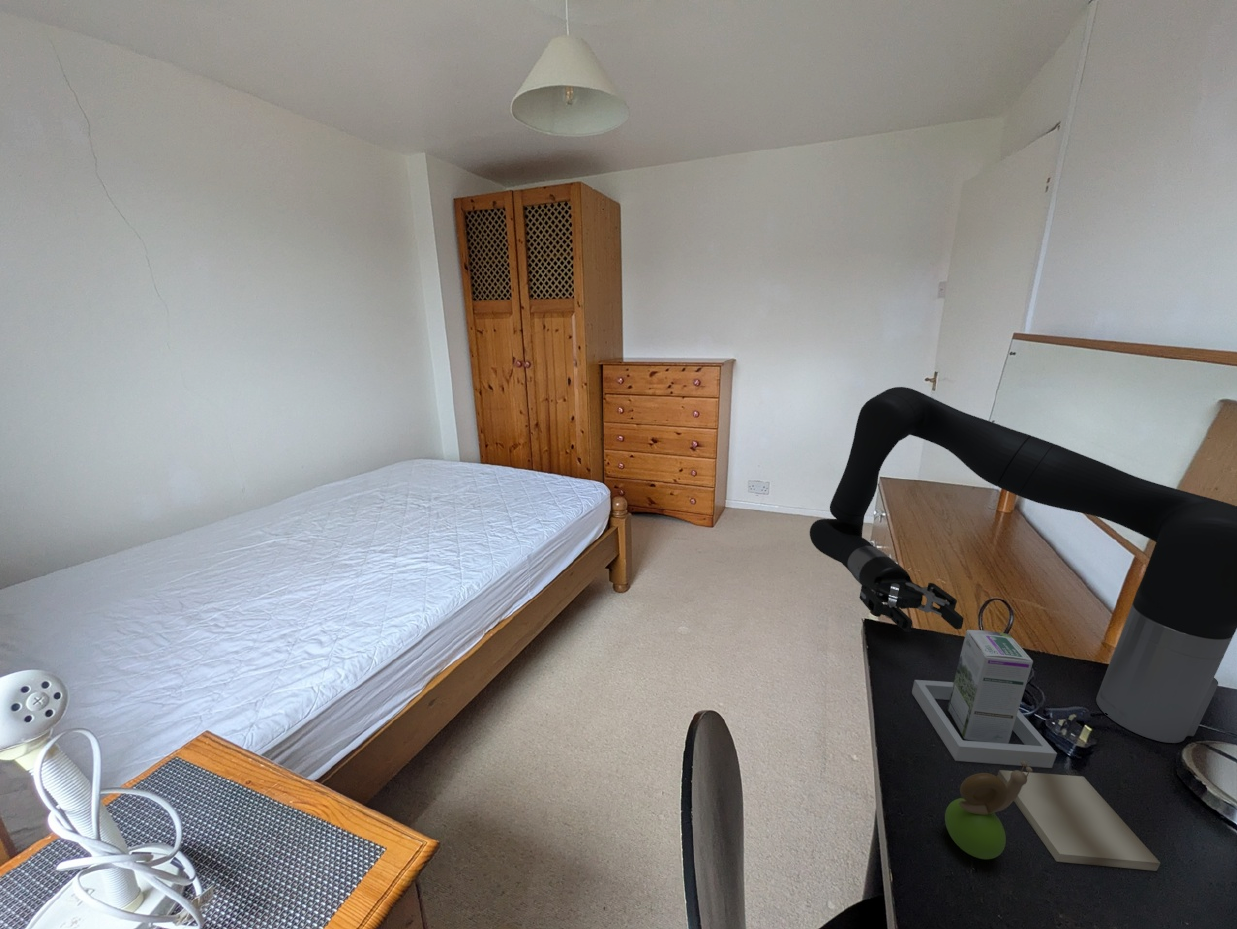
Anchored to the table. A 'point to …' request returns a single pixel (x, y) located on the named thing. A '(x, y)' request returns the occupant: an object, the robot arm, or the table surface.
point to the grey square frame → (983, 752)
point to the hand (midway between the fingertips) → (935, 625)
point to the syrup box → (988, 686)
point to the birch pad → (1079, 823)
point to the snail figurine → (982, 812)
